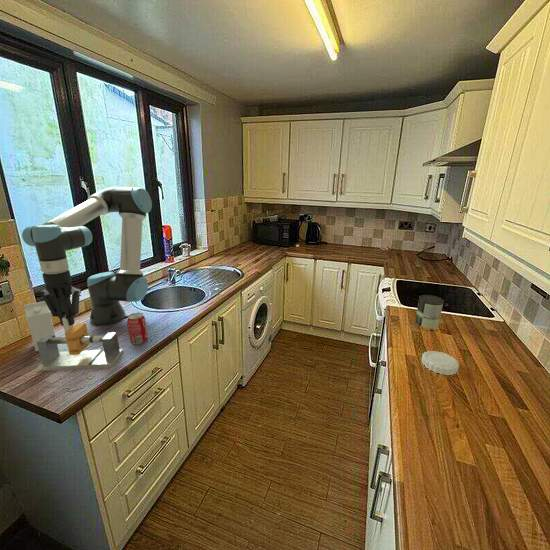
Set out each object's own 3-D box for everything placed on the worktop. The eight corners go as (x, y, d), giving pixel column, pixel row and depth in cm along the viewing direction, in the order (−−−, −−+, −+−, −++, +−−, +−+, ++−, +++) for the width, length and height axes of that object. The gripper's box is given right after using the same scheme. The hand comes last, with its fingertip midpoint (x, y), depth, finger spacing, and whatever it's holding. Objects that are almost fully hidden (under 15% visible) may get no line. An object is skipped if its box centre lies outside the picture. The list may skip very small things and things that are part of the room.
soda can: (143, 335, 126) (139, 310, 122) (151, 340, 122) (148, 315, 118) (127, 341, 121) (122, 316, 117) (135, 347, 116) (130, 321, 113)
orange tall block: (69, 355, 102) (64, 333, 99) (81, 343, 109) (77, 323, 107) (78, 354, 102) (73, 332, 100) (90, 343, 110) (85, 322, 107)
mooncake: (454, 361, 109) (455, 353, 108) (460, 380, 99) (462, 371, 98) (419, 354, 113) (421, 346, 112) (422, 372, 103) (423, 363, 102)
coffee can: (410, 324, 138) (414, 297, 134) (421, 319, 144) (426, 293, 140) (431, 333, 130) (436, 304, 126) (442, 327, 136) (448, 299, 131)
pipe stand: (38, 370, 101) (31, 345, 98) (56, 355, 111) (50, 331, 108) (111, 367, 104) (107, 342, 101) (123, 351, 113) (119, 328, 110)
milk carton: (35, 344, 118) (23, 302, 112) (56, 339, 122) (46, 298, 117) (35, 351, 113) (23, 308, 107) (57, 345, 117) (47, 303, 112)
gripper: (27, 274, 92) (44, 339, 99) (69, 274, 94) (83, 337, 101) (43, 268, 100) (57, 328, 107) (82, 267, 101) (94, 327, 108)
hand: (70, 333), depth 104 cm, fingers closed
